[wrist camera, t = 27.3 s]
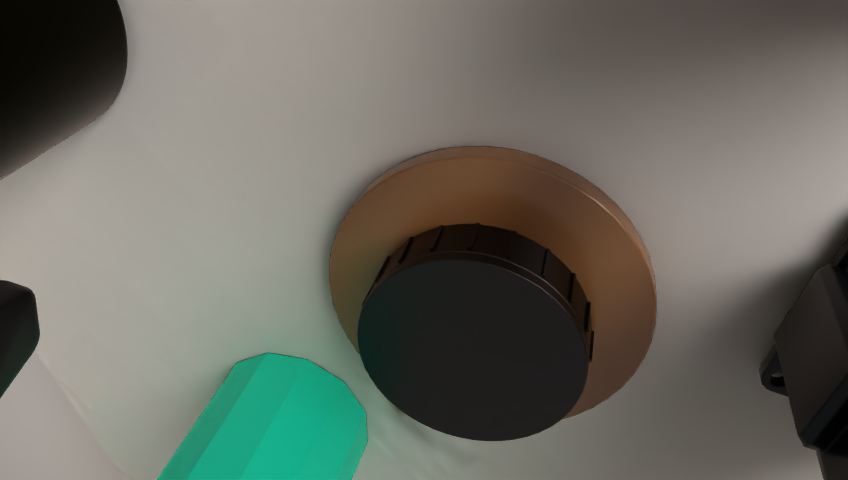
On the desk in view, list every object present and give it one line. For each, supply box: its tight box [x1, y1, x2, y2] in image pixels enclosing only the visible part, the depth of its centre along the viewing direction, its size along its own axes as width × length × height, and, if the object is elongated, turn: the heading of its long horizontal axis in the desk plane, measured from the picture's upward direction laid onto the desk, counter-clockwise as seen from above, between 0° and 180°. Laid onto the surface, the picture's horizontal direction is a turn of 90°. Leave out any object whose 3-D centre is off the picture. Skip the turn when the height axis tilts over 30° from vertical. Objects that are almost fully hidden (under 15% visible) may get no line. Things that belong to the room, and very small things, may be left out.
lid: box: [357, 223, 594, 441], centre depth 21 cm, size 7×7×2 cm
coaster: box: [329, 146, 657, 419], centre depth 22 cm, size 10×10×1 cm
